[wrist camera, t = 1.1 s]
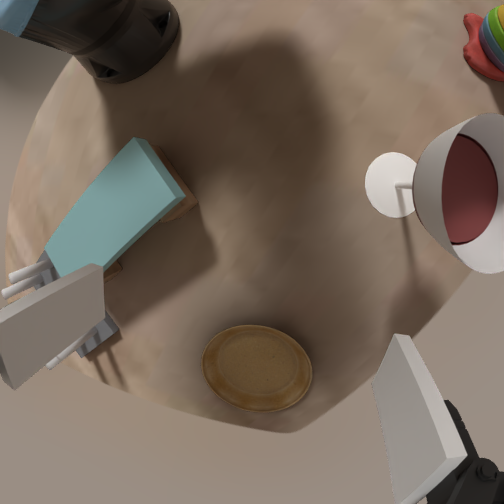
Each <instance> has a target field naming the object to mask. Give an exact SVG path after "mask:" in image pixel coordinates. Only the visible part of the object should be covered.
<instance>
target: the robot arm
mask: <svg viewBox="0 0 504 504" xmlns="http://www.w3.org/2000/svg"><path fill="white" fill-rule="evenodd" d="M178 24H179V19H178V14H177V11H176V9H175V8H174V6H173V5H172V4H171V3H170V2H169V1H168V0H0V29H2V30H5V31H7V32H10V33H12V34H14V36H17V37H21V38H25V39H28V40H31V41H35V42H38V43H41V44H44V45H47V46H50V47H53V48H56V49H58V50H61V51H64V52H67V53H69V54H72V55H74V56H75V58H76V59H77V60H78V61H79V62H80V63H81V65H82V66H83V67H84V68H85V69H86V70H87V72H88V73H89V74H90V75H92V76H93V77H95V78H97V79H99V80H102V81H104V82H107V83H114V84H115V83H123V82H127V81H130V80H132V79H135V78H137V77H139V76H140V75H142V74H144V73H145V72H147V71H148V70H149V69H151V68H152V67H153V66H154V65H155V64H156V63H157V62H158V61H159V60H160V59H161V58H162V57H163V56H164V55H165V53H166V52H167V51H168V49H169V48H170V46H171V44H172V43H173V41H174V39H175V36H176V33H177V30H178ZM104 318H105V305H104V282H103V267H102V266H99V265H96V264H93V263H90V264H88V265H86V266H84V267H82V268H80V269H78V270H76V271H74V272H72V273H70V274H67V275H65V276H63V277H61V278H59V279H57V280H55V281H53V282H51V283H49V284H47V285H45V286H43V287H41V288H39V289H37V290H36V291H34V292H32V293H30V294H28V295H26V296H24V297H22V298H20V299H18V300H16V301H14V302H12V303H10V304H9V305H7V306H5V307H3V308H1V309H0V373H1V376H2V378H3V381H4V382H5V383H6V384H7V385H9V386H10V387H11V388H12V389H14V390H16V389H17V388H18V387H19V386H21V385H22V384H23V383H24V382H26V381H27V380H28V379H29V378H30V377H32V376H33V375H34V374H35V373H36V372H38V371H39V370H40V369H41V368H43V367H44V366H45V365H46V364H47V363H49V362H50V361H51V360H52V359H54V358H55V357H56V356H57V355H59V354H60V353H61V352H62V351H64V350H65V349H66V348H67V347H69V346H70V345H71V344H72V343H74V342H75V341H76V340H77V339H79V338H80V337H81V336H83V335H84V334H85V333H86V332H88V331H89V330H90V329H91V328H93V327H94V326H95V325H97V324H98V323H99V322H101V321H102V320H103V319H104ZM372 388H373V392H374V396H375V400H376V405H377V409H378V413H379V418H380V422H381V427H382V432H383V436H384V442H385V447H386V452H387V457H388V463H389V469H390V475H391V481H392V487H393V494H394V501H395V504H417V503H418V502H419V501H420V500H421V499H423V498H424V497H425V496H426V498H427V502H428V503H427V504H504V472H500V471H499V470H498V468H497V466H496V465H495V464H494V463H493V462H492V461H491V460H489V459H486V458H479V456H478V454H477V452H476V449H475V447H474V445H473V443H472V440H471V438H470V436H469V433H468V431H467V429H465V425H464V423H463V421H461V420H462V418H461V416H460V414H459V412H458V410H457V409H456V408H455V407H454V406H453V404H452V403H451V402H450V401H449V400H443V398H442V397H441V394H440V393H439V390H438V388H437V386H436V384H435V382H434V380H433V378H432V376H431V375H430V373H429V371H428V369H427V367H426V365H425V363H424V361H423V359H422V358H421V356H420V354H419V352H418V350H417V348H416V347H415V345H414V343H413V341H412V339H411V338H410V336H409V335H402V334H396V333H394V335H393V337H392V340H391V342H390V344H389V347H388V349H387V351H386V353H385V356H384V358H383V360H382V362H381V364H380V367H379V369H378V371H377V373H376V375H375V377H374V379H373V381H372Z"/></svg>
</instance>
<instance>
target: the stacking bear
mask: <svg viewBox="0 0 504 504" xmlns="http://www.w3.org/2000/svg"><path fill="white" fill-rule="evenodd" d="M463 21H464V24H465V26H466V28H467V30H468V33H469V42H468V44H467V45H465V46H464V48H463V50H464V57H465V59H466V60H467V62H468V64H469V65H470V66H471V67H472V68H473V69H475V70H476V71H478V72H479V73H481V74H483V75H485V76H486V77H489V78H491V79H494V80H497V81H504V4H503V5H501V6H498V7H496V8H494V9H492V10H491V11H490V12H489V13H488V14H487V15H486V17H485V18H484V19H483V18H482V17H480V16H478V15H476V14H474V13H470V14H466V15H464V20H463Z"/></svg>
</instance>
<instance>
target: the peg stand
mask: <svg viewBox="0 0 504 504" xmlns="http://www.w3.org/2000/svg"><path fill="white" fill-rule="evenodd" d="M26 278H28V279H26ZM59 278H61V277H60V275H59V273H58V272H57V270H56V268H55V267H54V265H53V263H52V261H51V259H50V258H49V256H48V254H47V252H46V250H44V252H43V253H42V255H41V256H40V258H39V259H38V261H37V263H36V264H33V265H30V266H28V267H25V268H23V269H20V270H18V271H15V272H12V273H10V274H9V280H10V282H11V284H14V285H12V286H10V287H7V288H5V289H3V290H2V296H3V298H4V299H8V298H10V297H12V296H14V295H16V294H18V293H20V292H22V291H24V290H27V289H29V288H31V287H33V286H34V287H35V289H36V290H37V289H39V288H41V287H43V286H45V285H47V284H49V283H51V282H53V281H55V280H57V279H59ZM24 279H26V280H24ZM22 280H23V281H22ZM19 281H21V282H19ZM17 282H19V283H17ZM15 283H16V284H15ZM118 330H119V328H118V327H117V326H116V324H115V323H114V322H113V320H112V319H111V318H110V316H109V315H108V313H107V312H106V311H105V318H104V319H103V320H102V321H101V322H99V323H98V324H97V325H95V326H94V327H93V328H91V329H90V330H89V331H88V332H86V333H85V334H84V335H83V336H81V337H80V338H79V339H77V340H76V341H75V342H74V343H72V344H71V345H70V346H69V347H67V348H66V349H65V350H64V351H62V352H61V353H60V354H59V355H57V356H56V357H55V358H54V359H52V360H51V361H50V362H49V363H47V364H46V365H45V366H46V367H47V368H48V369H49V370H51V369H52V368H54V367H55V366H56V365H57V364H59V363H60V362H61V361H63V360H64V359H65V358H66V357H68V356H69V355H70V354H71V353H73V352H74V351H75V350H76V352H77V353H78V354H79V356H80V357H81V358H82V357H84V356H85V355H86V354H88V353H89V352H90V351H91V350H93V349H94V348H95V347H97V346H98V345H99V344H101V343H102V342H103V341H105V340H106V339H107V338H109V337H110V336H111V335H113V334H114V333H115V332H116V331H118Z"/></svg>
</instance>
